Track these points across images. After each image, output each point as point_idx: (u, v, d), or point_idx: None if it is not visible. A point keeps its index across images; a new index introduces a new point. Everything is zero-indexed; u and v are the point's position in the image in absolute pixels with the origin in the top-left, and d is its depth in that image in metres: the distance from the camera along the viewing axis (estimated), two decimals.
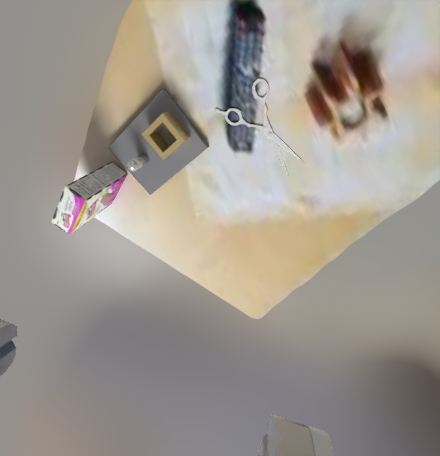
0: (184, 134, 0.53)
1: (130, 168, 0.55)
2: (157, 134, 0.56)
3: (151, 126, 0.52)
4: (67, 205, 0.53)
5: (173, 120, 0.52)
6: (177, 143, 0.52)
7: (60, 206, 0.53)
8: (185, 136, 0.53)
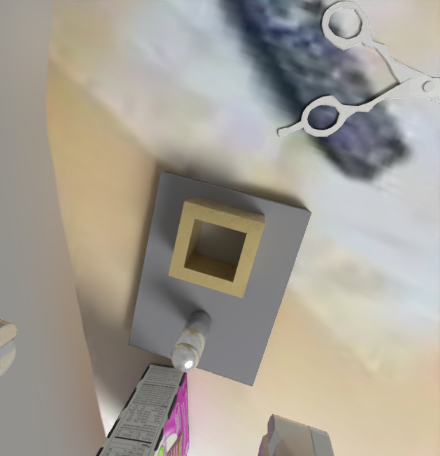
0: (252, 215, 0.22)
1: (184, 367, 0.21)
2: (198, 256, 0.25)
3: (178, 245, 0.21)
4: None
5: (214, 205, 0.22)
6: (251, 241, 0.20)
7: None
8: (257, 217, 0.22)
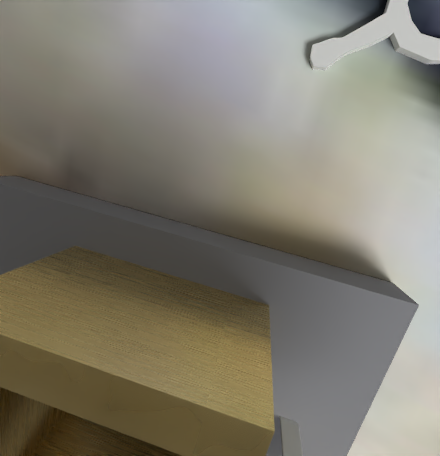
0: (225, 332, 0.06)
1: None
2: None
3: None
4: None
5: (96, 292, 0.06)
6: None
7: None
8: (242, 344, 0.06)
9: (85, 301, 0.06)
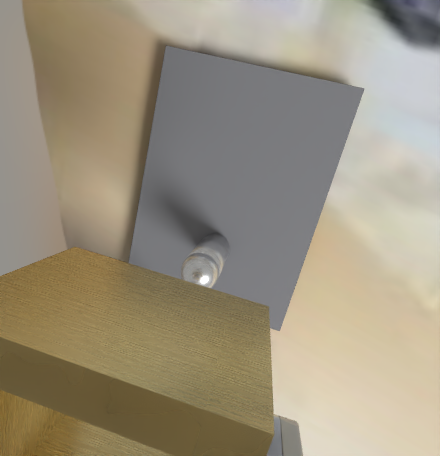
0: (225, 334, 0.06)
1: (200, 281, 0.15)
2: None
3: None
4: None
5: (96, 293, 0.06)
6: None
7: None
8: (242, 346, 0.06)
9: (84, 303, 0.06)
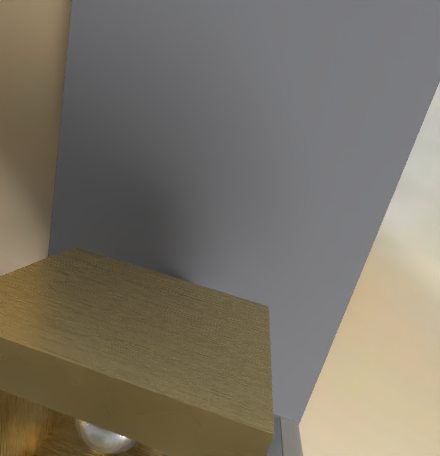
0: (225, 334, 0.06)
1: (109, 442, 0.06)
2: None
3: None
4: None
5: (95, 294, 0.06)
6: None
7: None
8: (242, 346, 0.06)
9: (84, 303, 0.06)
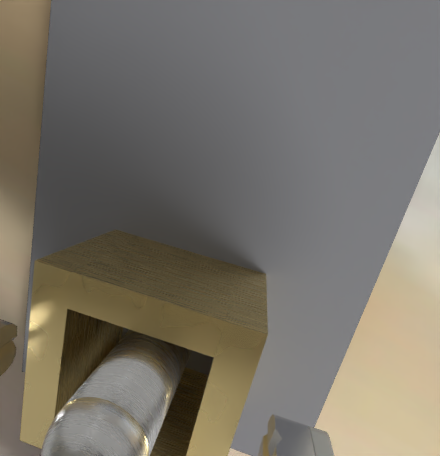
0: (234, 287, 0.09)
1: None
2: None
3: (34, 372, 0.08)
4: None
5: (140, 259, 0.09)
6: (229, 379, 0.07)
7: None
8: (246, 294, 0.08)
9: (134, 264, 0.08)
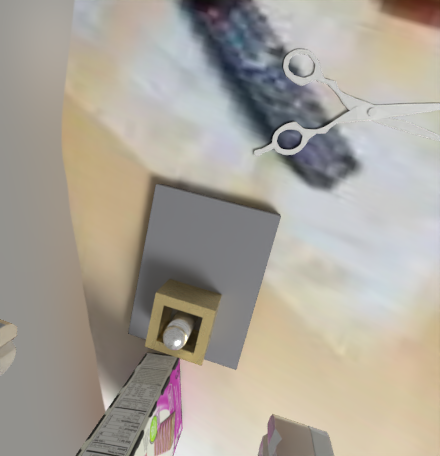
0: (209, 299, 0.28)
1: (174, 345, 0.25)
2: None
3: (152, 324, 0.28)
4: None
5: (181, 290, 0.29)
6: (206, 323, 0.27)
7: None
8: (213, 301, 0.28)
9: (180, 292, 0.28)
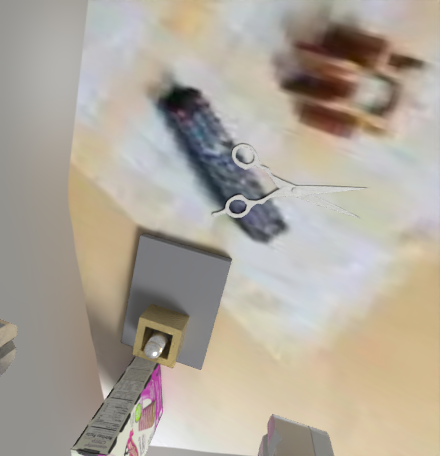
0: (179, 320, 0.39)
1: (151, 355, 0.36)
2: None
3: (137, 338, 0.38)
4: None
5: (158, 314, 0.39)
6: (176, 339, 0.37)
7: None
8: (181, 322, 0.39)
9: (157, 316, 0.39)
